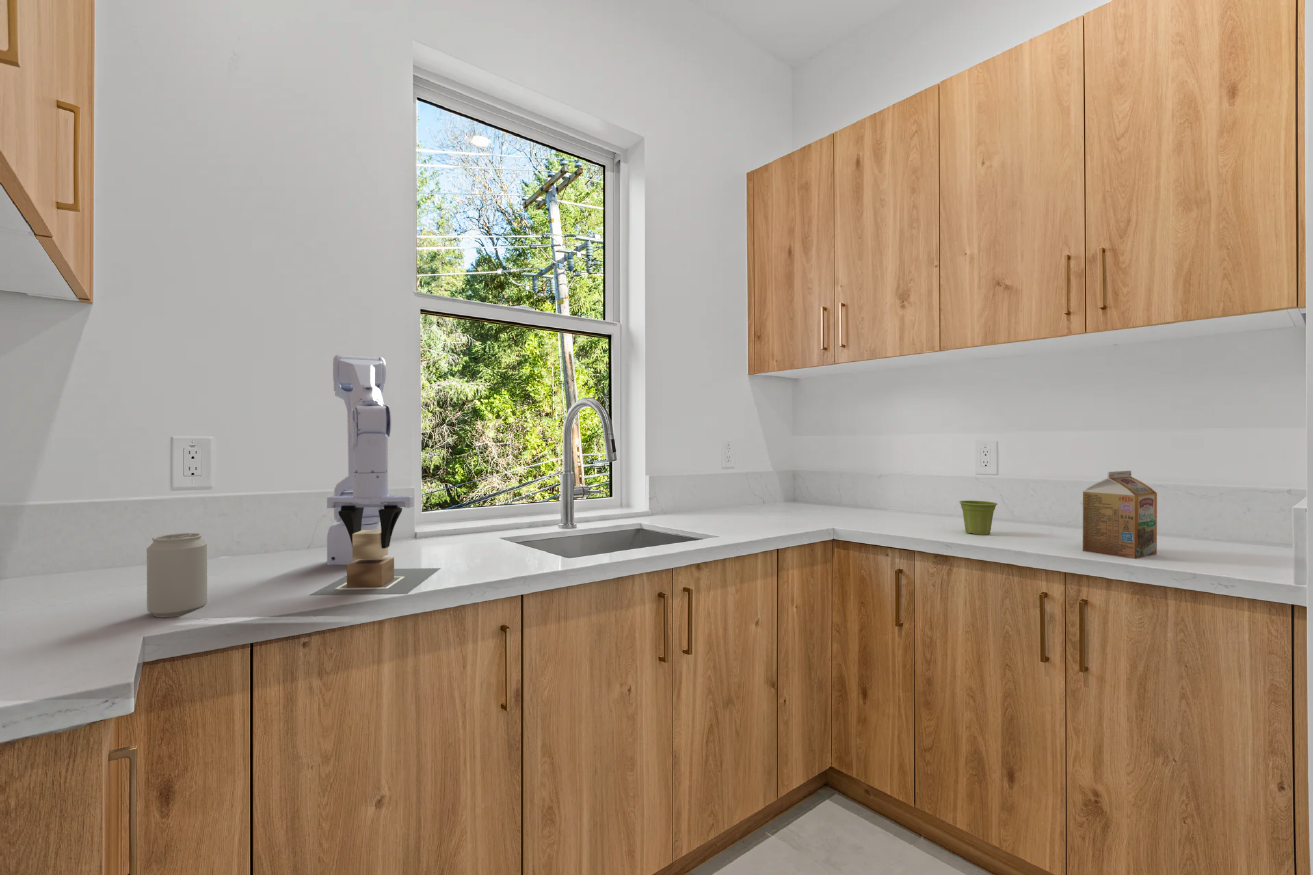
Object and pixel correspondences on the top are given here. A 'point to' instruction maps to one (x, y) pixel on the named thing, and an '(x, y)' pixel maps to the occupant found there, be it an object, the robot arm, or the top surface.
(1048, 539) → the top surface
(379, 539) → the maple cube
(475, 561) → the top surface
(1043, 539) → the top surface
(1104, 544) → the milk carton
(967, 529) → the plant pot
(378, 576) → the walnut block
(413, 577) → the gray mat
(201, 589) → the can
